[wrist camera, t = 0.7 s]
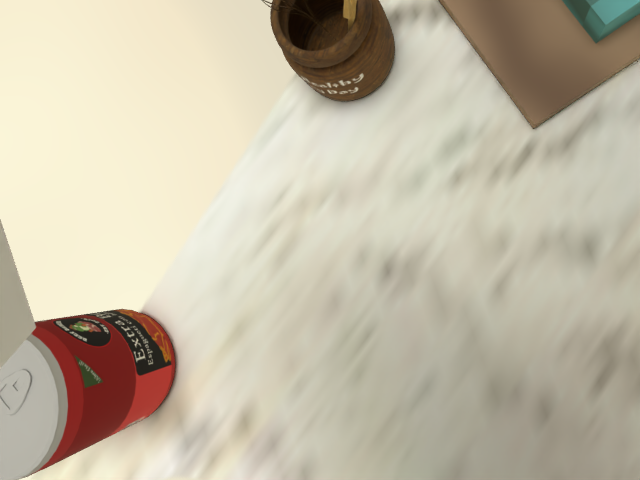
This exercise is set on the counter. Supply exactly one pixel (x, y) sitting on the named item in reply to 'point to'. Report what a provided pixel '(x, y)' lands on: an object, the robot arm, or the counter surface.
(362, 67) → the utensil holder
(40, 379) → the canned food
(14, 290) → the robot arm
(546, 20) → the cradle jig
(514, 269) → the counter surface
